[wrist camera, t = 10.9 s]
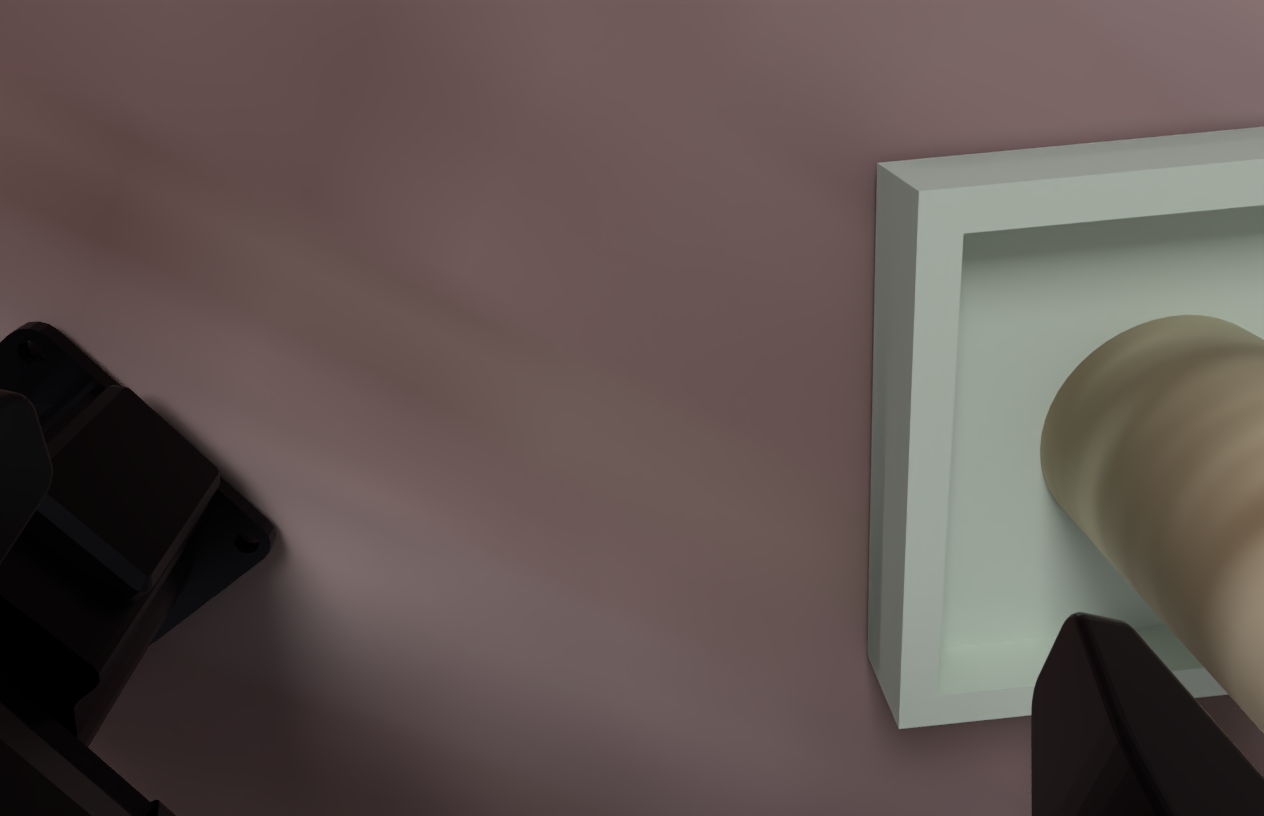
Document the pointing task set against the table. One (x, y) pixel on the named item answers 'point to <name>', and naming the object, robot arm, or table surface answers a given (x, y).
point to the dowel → (1174, 482)
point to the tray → (1024, 391)
